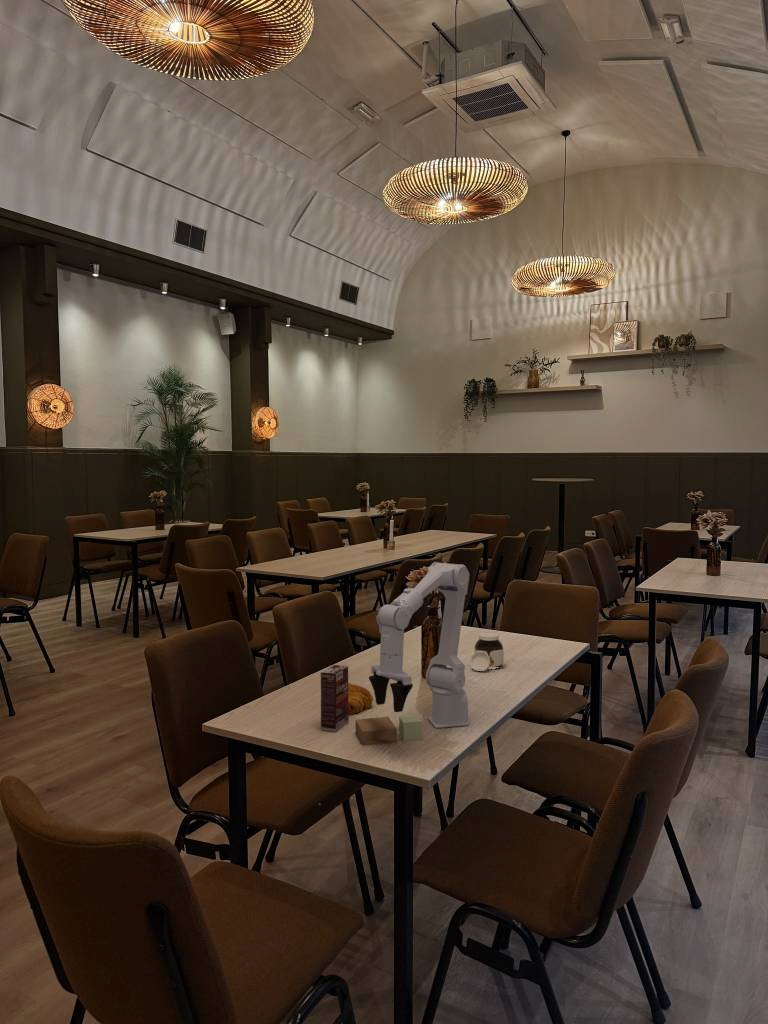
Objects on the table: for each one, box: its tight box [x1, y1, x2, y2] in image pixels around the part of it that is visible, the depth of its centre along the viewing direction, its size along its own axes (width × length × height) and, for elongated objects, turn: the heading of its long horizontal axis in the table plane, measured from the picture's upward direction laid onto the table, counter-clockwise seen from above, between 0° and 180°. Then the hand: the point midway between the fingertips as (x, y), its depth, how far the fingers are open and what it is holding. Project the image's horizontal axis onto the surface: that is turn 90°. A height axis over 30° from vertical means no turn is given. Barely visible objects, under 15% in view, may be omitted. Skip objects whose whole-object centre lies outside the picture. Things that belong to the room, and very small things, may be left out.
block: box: [354, 716, 398, 747], centre depth 188 cm, size 9×9×4 cm
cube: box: [398, 714, 424, 743], centre depth 188 cm, size 5×5×5 cm
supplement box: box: [320, 664, 349, 733], centre depth 197 cm, size 9×5×16 cm, turn 158°
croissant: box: [348, 682, 374, 715], centre depth 213 cm, size 14×16×8 cm
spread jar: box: [469, 632, 504, 672], centre depth 252 cm, size 12×11×12 cm
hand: (389, 707), depth 180 cm, fingers open, 7 cm apart
